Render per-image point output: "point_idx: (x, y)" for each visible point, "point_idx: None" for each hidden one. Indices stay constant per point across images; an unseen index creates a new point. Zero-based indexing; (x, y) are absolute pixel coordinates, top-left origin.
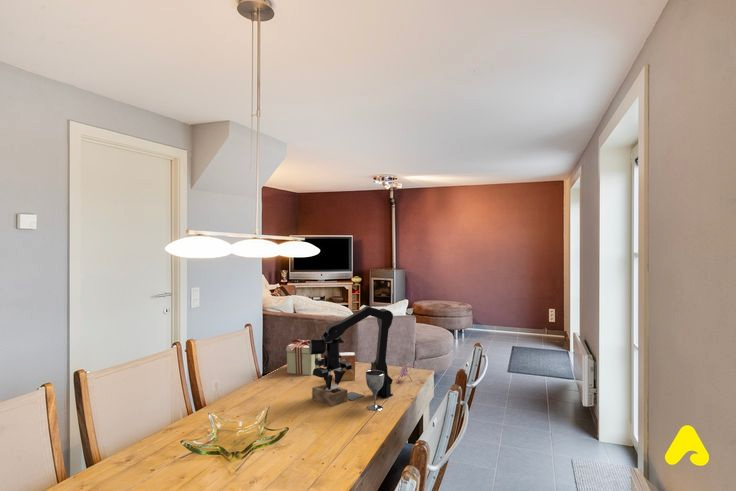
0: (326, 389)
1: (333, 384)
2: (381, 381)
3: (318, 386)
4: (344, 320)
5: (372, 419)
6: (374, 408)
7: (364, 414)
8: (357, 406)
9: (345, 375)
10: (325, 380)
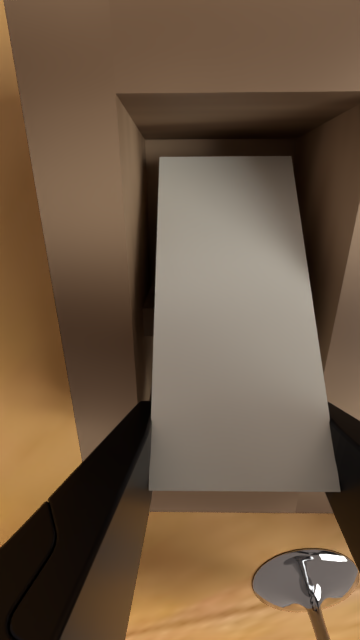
0: (154, 343)
1: (242, 489)
2: None
3: (182, 37)
4: None
5: (164, 636)
6: (281, 601)
7: (184, 593)
8: (256, 516)
9: None
10: (3, 574)
